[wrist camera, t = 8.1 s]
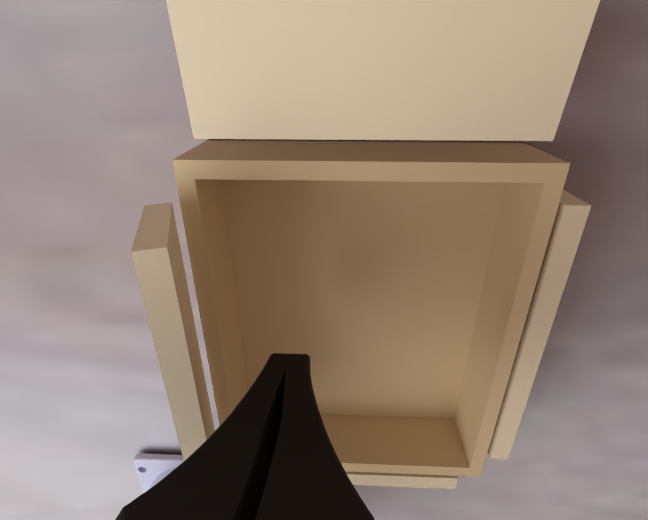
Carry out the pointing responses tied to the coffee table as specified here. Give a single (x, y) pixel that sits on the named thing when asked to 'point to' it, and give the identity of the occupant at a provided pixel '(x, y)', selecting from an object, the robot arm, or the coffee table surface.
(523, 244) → the carton
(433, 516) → the coffee table surface
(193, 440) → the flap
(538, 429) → the coffee table surface
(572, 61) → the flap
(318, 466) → the robot arm
